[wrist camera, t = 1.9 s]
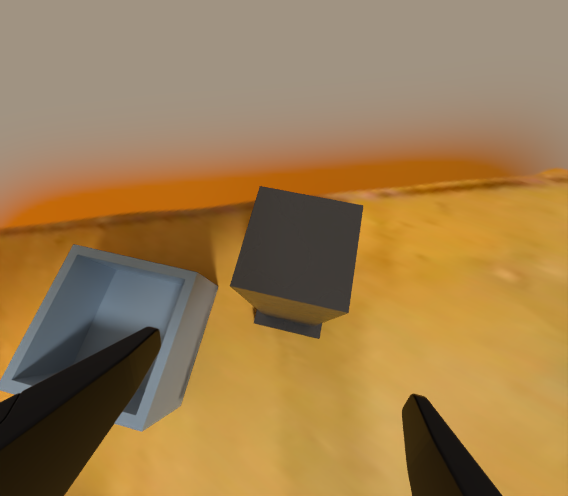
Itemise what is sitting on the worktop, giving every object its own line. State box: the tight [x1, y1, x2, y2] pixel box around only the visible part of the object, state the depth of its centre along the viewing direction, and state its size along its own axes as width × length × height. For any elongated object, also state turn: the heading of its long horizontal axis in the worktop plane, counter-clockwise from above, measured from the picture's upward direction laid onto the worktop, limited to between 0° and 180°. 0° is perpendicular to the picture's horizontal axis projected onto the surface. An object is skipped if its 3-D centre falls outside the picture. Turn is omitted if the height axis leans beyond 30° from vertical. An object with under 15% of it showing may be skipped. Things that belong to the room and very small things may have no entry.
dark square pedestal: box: [230, 186, 363, 339], centre depth 14 cm, size 5×5×13 cm
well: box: [0, 244, 218, 431], centre depth 17 cm, size 9×9×5 cm
